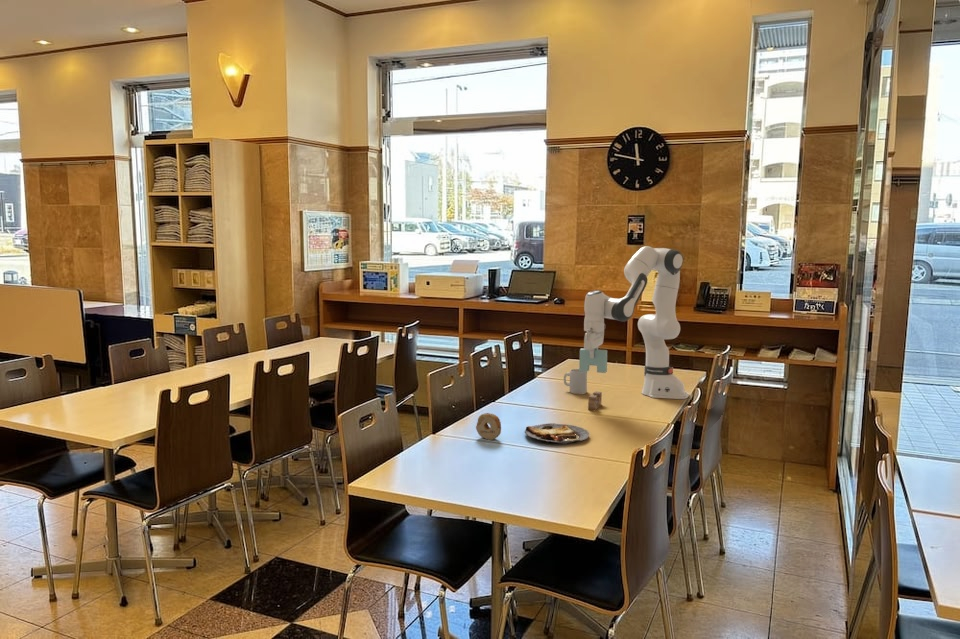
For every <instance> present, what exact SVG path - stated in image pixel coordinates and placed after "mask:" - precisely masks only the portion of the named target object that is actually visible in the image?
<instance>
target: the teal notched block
mask: <svg viewBox="0 0 960 639" xmlns="http://www.w3.org/2000/svg"><path fill="white" fill-rule="evenodd" d="M594 354H595V355H594V358H590V353H589V350H584V347H583V348H580V349H579V362H578V363H579V366H578V367H579V368H578V369H579V371H586V372H587V373H588V372H589V371H590V366H591V367H593V366H594V367H596V373H601V374H606V373H607V372H608V350H607V349H599V348H598V349H594Z"/></svg>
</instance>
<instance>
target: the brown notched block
mask: <svg viewBox="0 0 960 639" xmlns="http://www.w3.org/2000/svg"><path fill="white" fill-rule="evenodd" d="M587 398H588V402H587V404H588V405H587V409H588V411H594V410H595V411H596V410H597V409H598V408H599V407H601V406H602V391H597V390H595V391H594V392H593V393H592V394H590V395H589V396H588V397H587Z"/></svg>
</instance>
